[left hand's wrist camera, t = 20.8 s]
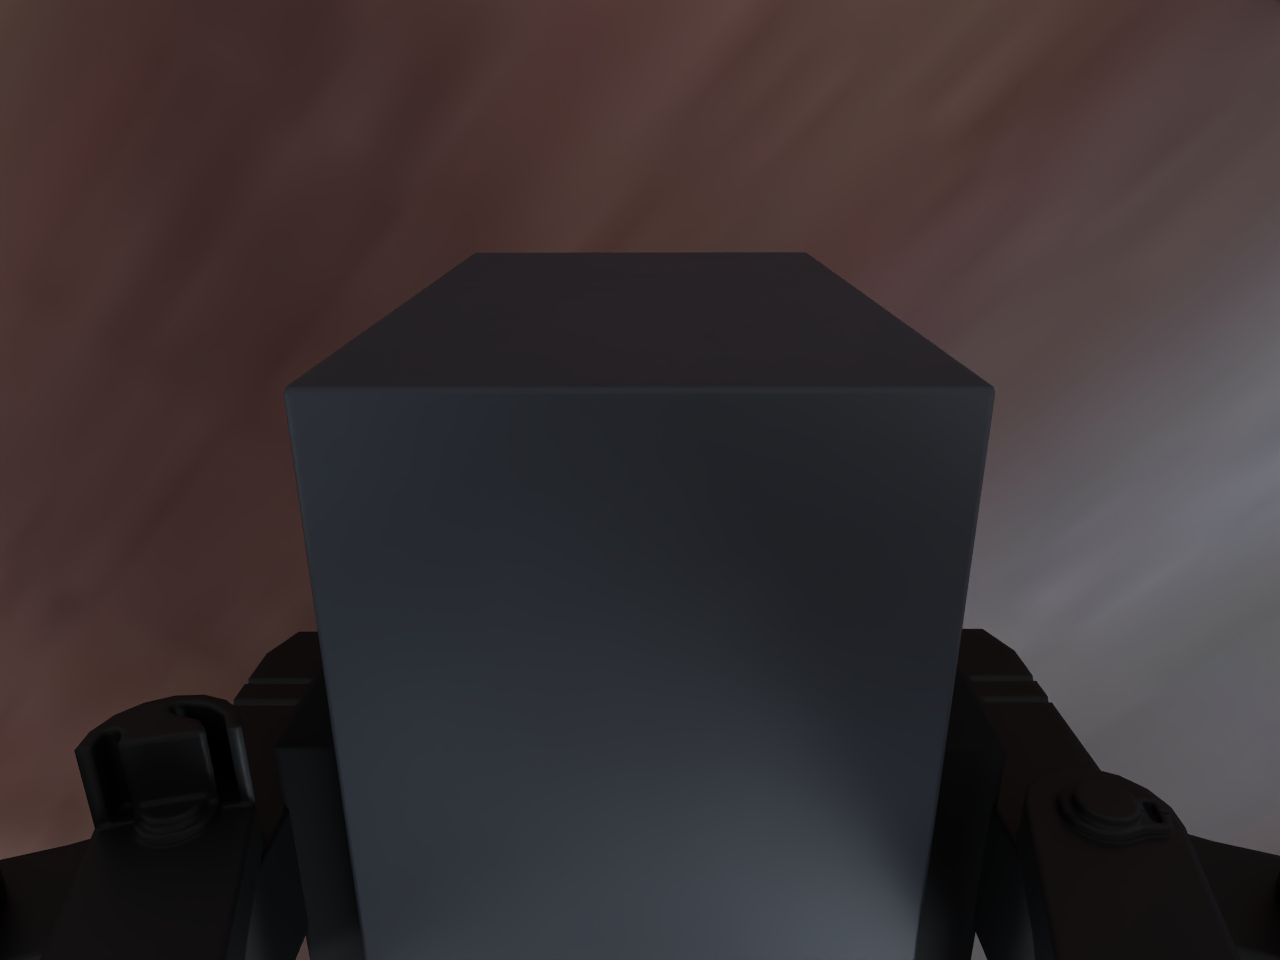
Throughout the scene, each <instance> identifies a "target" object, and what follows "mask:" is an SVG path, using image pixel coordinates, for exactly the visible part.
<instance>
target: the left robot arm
mask: <svg viewBox="0 0 1280 960" xmlns="http://www.w3.org/2000/svg"><path fill="white" fill-rule="evenodd" d="M74 751H75V755H76V759H77V762H78V766H79V770H80V774H81V777H82V781H83V785H84V789H85V792H86V796H87V800H88V804H89V807H90V811H91V815H92V819H93V823H94V826H95V830H94V832H93V835H92V837H91V839H88V840H84V841H81V842H77V843H74V844H70V845H66V846H62V847H57V848H53V849H48V850H44V851H39V852H34V853H30V854H25V855H21V856H16V857H12V858H7V859H2V860H0V960H295V959H296V957H297V954H298V952H299V950H300V947H301V945H302V942H303V940H304V938H305V935H306V939H307V945H308V950H309V956H310V960H365V957H364V950H363V943H362V936H361V929H360V922H359V915H358V908H357V901H356V894H355V887H354V880H353V873H352V866H351V859H350V852H349V845H348V838H347V831H346V824H345V817H344V810H343V803H342V796H341V789H340V782H339V775H338V768H337V761H336V754H335V747H334V740H333V734H332V727H331V720H330V713H329V706H328V699H327V692H326V685H325V678H324V671H323V664H322V657H321V650H320V643H319V636H318V632H298V633H296V634H295V635H294V636H292V637H291V638H289V639H288V640H286V641H285V642H283V643H282V644H280V645H279V646H277V647H276V648H274V649H273V650H272V651H270V652H269V653H267V654H266V656H265V657H264V658H263V660H262V661H261V663H260V664H259V665H258V667H257V668H256V670H255V671H254V672H253V674H252V675H251V677H250V678H249V683H248V684H245V685H244V686H243V688H242V689H241V691H240V692H239V693H238V695H237V696H236V698H235V699H234V704H233V705H232V704H230V703H229V702H228V701H227V700H224V699H219V698H215V697H211V696H207V695H182V696H172V697H168V698H163V699H159V700H154V701H150V702H145V703H143V704H140V705H138V706H135V707H133V708H131V709H128V710H126V711H123V712H121V713H119V714H116V715H114V716H113V717H111V718H110V719H108V720H107V721H105V722H104V723H102V724H101V725H99V726H98V727H96V728H95V729H93V730H92V731H90V732H89V733H88V735H87V736H86V737H85V738H84V739H83V741H82V742H81V743H80V744H79V745H78V747H77V748H76V749H75V750H74ZM975 932H976V934H977V936H978V938H979V941H980V943H981V945H982V948H983V950H984V953H985V955H986V957H987V960H1280V856H1278V855H1273V854H1269V853H1264V852H1260V851H1255V850H1250V849H1246V848H1241V847H1237V846H1232V845H1228V844H1223V843H1218V842H1214V841H1210V840H1207V839H1203V838H1200V837H1196V836H1193V835H1189V834H1188V833H1187V831H1186V828H1185V826H1184V825H1183V824H1182V822H1181V821H1180V819H1179V818H1178V817H1177V815H1176V814H1175V812H1174V811H1173V809H1172V808H1171V807H1170V806H1169V805H1167V804H1166V803H1165V802H1164V801H1162V800H1161V799H1160V798H1158V797H1157V796H1156V795H1155V794H1153V793H1152V792H1151V791H1149V790H1148V789H1146V788H1144V787H1142V786H1140V785H1138V784H1136V783H1134V782H1132V781H1129V780H1127V779H1125V778H1123V777H1121V776H1119V775H1115V774H1111V773H1107V772H1103V771H1101V770H1100V769H1099V767H1098V766H1097V765H1096V763H1095V762H1094V761H1093V759H1092V758H1091V756H1090V755H1089V754H1088V752H1087V751H1086V749H1085V748H1084V747H1083V745H1082V744H1081V742H1080V741H1079V740H1078V738H1077V737H1076V736H1075V734H1074V733H1073V731H1072V730H1071V729H1070V727H1069V726H1068V724H1067V723H1066V722H1065V720H1064V719H1063V717H1062V716H1061V715H1060V713H1059V712H1058V710H1057V709H1056V708H1055V706H1054V705H1053V704H1052V703H1048V697H1047V695H1046V694H1045V692H1044V691H1043V690H1042V688H1041V687H1040V685H1039V684H1038V683H1037V681H1033V676H1032V674H1031V673H1030V672H1029V670H1028V669H1027V667H1026V666H1025V665H1024V663H1023V662H1022V660H1021V659H1020V658H1019V656H1018V655H1017V653H1016V652H1015V651H1014V650H1013V649H1011V648H1010V647H1008V646H1007V645H1005V644H1004V643H1002V642H1001V641H999V640H998V639H997V638H995V637H994V636H992V635H991V634H989V633H988V632H986V631H985V630H983V629H962V632H961V639H960V646H959V654H958V661H957V668H956V675H955V682H954V689H953V696H952V704H951V711H950V718H949V725H948V732H947V739H946V746H945V754H944V761H943V768H942V775H941V782H940V789H939V796H938V804H937V811H936V818H935V825H934V832H933V839H932V846H931V854H930V861H929V868H928V875H927V882H926V889H925V896H924V904H923V911H922V918H921V925H920V932H919V939H918V946H917V954H916V960H971V955H972V949H973V943H974V938H975Z"/></svg>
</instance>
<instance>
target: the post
mask: <svg viewBox="0 0 1280 960" xmlns="http://www.w3.org/2000/svg"><path fill="white" fill-rule="evenodd" d="M994 397H995V390H994V387H993V386H992V385H990V384H989V383H987V382H986V381H985V380H983V379H982V378H980V377H979V376H978V375H976V374H975V373H973V372H972V371H971V370H969V369H968V368H966V367H965V366H964V365H962V364H961V363H959V362H958V361H957V360H955V359H954V358H952V357H951V356H950V355H948V354H947V353H945V352H944V351H943V350H941V349H940V348H939V347H937V346H936V345H934V344H933V343H932V342H930V341H929V340H927V339H926V338H925V337H923V336H922V335H920V334H919V333H918V332H916V331H915V330H913V329H912V328H911V327H909V326H908V325H906V324H905V323H904V322H902V321H901V320H899V319H898V318H897V317H895V316H894V315H892V314H891V313H890V312H888V311H887V310H885V309H884V308H883V307H881V306H880V305H878V304H877V303H876V302H874V301H873V300H871V299H870V298H869V297H867V296H866V295H864V294H863V293H862V292H860V291H859V290H858V289H856V288H855V287H853V286H852V285H851V284H849V283H848V282H846V281H845V280H844V279H842V278H841V277H839V276H838V275H837V274H835V273H834V272H832V271H831V270H830V269H828V268H827V267H825V266H824V265H823V264H821V263H820V262H818V261H817V260H816V259H814V258H813V257H811V256H810V255H809V254H807V253H475V254H473V255H472V256H470V257H469V258H468V259H466V260H465V261H463V262H462V263H461V264H459V265H458V266H456V267H455V268H454V269H452V270H451V271H449V272H448V273H446V274H445V275H444V276H442V277H441V278H439V279H438V280H437V281H435V282H434V283H432V284H431V285H429V286H428V287H427V288H425V289H424V290H422V291H421V292H420V293H418V294H417V295H415V296H414V297H412V298H411V299H410V300H408V301H407V302H405V303H404V304H403V305H401V306H400V307H398V308H397V309H395V310H394V311H393V312H391V313H390V314H388V315H387V316H386V317H384V318H383V319H381V320H380V321H379V322H377V323H376V324H374V325H373V326H371V327H370V328H369V329H367V330H366V331H364V332H363V333H362V334H360V335H359V336H357V337H356V338H354V339H353V340H352V341H350V342H349V343H347V344H346V345H345V346H343V347H342V348H340V349H339V350H337V351H336V352H335V353H333V354H332V355H330V356H329V357H328V358H326V359H325V360H323V361H322V362H320V363H319V364H318V365H316V366H315V367H313V368H312V369H311V370H309V371H308V372H306V373H305V374H304V375H302V376H301V377H299V378H298V379H296V380H295V381H294V382H292V383H291V384H289V385H288V386H287V387H285V390H284V399H285V406H286V413H287V420H288V427H289V433H290V440H291V447H292V454H293V461H294V468H295V475H296V482H297V489H298V496H299V503H300V510H301V517H302V524H303V531H304V538H305V545H306V552H307V559H308V566H309V573H310V580H311V587H312V594H313V601H314V608H315V615H316V622H317V629H318V636H319V643H320V650H321V657H322V664H323V671H324V678H325V685H326V692H327V699H328V706H329V713H330V720H331V727H332V734H333V740H334V747H335V754H336V761H337V768H338V775H339V782H340V789H341V796H342V803H343V810H344V817H345V824H346V831H347V838H348V845H349V852H350V859H351V866H352V873H353V880H354V887H355V894H356V901H357V908H358V915H359V922H360V929H361V936H362V943H363V950H364V957H365V960H916V954H917V946H918V939H919V932H920V925H921V918H922V911H923V904H924V896H925V889H926V882H927V875H928V868H929V861H930V854H931V846H932V839H933V832H934V825H935V818H936V811H937V804H938V796H939V789H940V782H941V775H942V768H943V761H944V754H945V746H946V739H947V732H948V725H949V718H950V711H951V704H952V696H953V689H954V682H955V675H956V668H957V661H958V654H959V646H960V639H961V632H962V625H963V618H964V611H965V604H966V597H967V589H968V582H969V575H970V568H971V561H972V554H973V547H974V539H975V532H976V525H977V518H978V511H979V504H980V497H981V489H982V482H983V475H984V468H985V461H986V454H987V447H988V439H989V432H990V425H991V418H992V411H993V404H994Z"/></svg>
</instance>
